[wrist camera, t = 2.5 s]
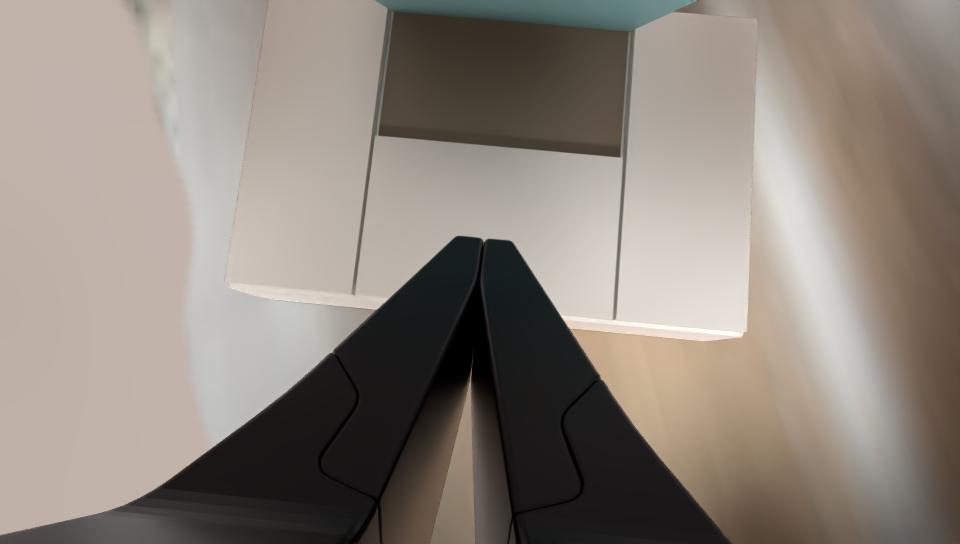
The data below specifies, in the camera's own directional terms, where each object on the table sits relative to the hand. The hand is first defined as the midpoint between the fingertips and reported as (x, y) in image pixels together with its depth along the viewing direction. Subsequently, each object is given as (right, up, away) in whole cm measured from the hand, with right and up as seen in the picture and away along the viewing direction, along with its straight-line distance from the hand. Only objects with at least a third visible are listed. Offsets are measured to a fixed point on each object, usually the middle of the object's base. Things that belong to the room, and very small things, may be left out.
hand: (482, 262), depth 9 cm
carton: (0, +3, +11) cm, 12 cm away
